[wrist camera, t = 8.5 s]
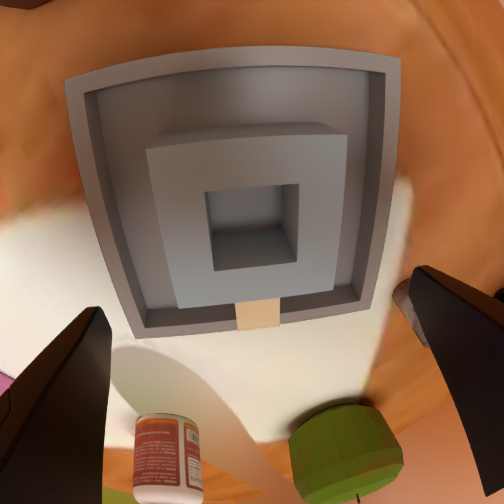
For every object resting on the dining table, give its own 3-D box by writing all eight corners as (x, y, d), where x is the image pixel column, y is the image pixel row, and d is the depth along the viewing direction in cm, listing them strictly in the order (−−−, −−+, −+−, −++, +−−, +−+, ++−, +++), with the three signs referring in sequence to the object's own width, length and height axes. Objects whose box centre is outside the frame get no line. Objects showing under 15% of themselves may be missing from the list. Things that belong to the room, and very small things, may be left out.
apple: (273, 443, 31) (289, 524, 22) (299, 399, 25) (328, 506, 16) (355, 432, 33) (379, 502, 24) (395, 386, 28) (434, 470, 18)
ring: (159, 134, 12) (145, 149, 9) (319, 122, 13) (347, 134, 10) (187, 296, 17) (186, 336, 14) (312, 281, 17) (328, 317, 15)
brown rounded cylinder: (421, 276, 19) (455, 318, 16) (413, 300, 20) (443, 342, 17) (396, 281, 19) (429, 326, 15) (389, 305, 20) (418, 350, 17)
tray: (377, 58, 12) (400, 58, 10) (356, 287, 19) (369, 308, 17) (83, 78, 10) (63, 79, 9) (140, 313, 18) (135, 338, 16)
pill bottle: (128, 426, 26) (123, 524, 16) (148, 403, 23) (145, 521, 14) (182, 440, 28) (187, 532, 19) (210, 420, 26) (220, 527, 16)
